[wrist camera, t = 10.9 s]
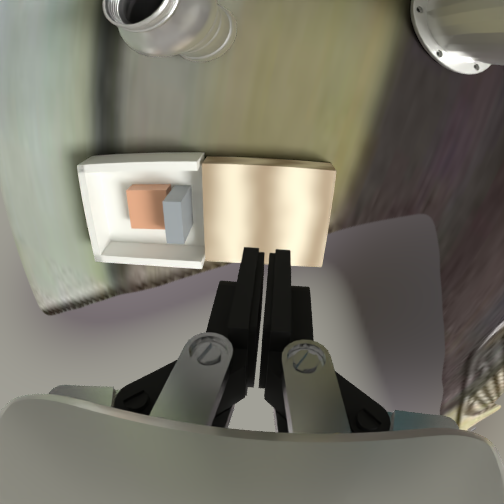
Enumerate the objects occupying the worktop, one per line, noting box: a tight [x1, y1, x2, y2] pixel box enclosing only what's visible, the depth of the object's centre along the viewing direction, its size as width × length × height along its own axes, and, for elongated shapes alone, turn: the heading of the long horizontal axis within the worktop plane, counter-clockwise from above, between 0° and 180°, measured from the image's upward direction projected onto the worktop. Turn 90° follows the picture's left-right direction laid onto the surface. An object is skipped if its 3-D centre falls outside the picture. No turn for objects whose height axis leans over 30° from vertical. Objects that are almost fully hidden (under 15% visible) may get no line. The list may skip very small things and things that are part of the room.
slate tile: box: [162, 185, 193, 244], centre depth 36 cm, size 5×5×2 cm
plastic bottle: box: [102, 0, 237, 62], centre depth 19 cm, size 6×7×20 cm
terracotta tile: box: [126, 184, 171, 230], centre depth 37 cm, size 5×5×2 cm
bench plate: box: [202, 156, 336, 267], centre depth 37 cm, size 14×12×3 cm
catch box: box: [77, 152, 205, 269], centre depth 37 cm, size 14×13×4 cm
